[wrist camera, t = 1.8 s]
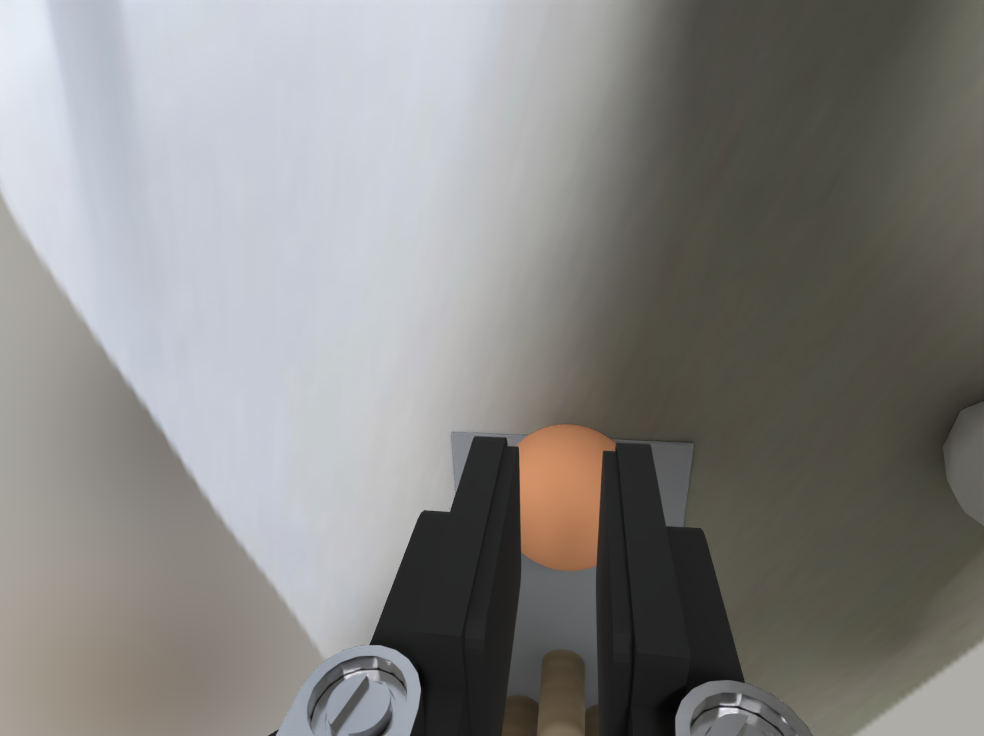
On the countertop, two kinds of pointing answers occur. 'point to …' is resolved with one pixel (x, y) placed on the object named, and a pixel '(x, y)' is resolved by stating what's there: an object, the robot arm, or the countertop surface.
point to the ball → (561, 495)
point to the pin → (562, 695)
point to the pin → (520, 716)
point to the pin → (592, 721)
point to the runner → (572, 580)
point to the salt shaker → (967, 460)
